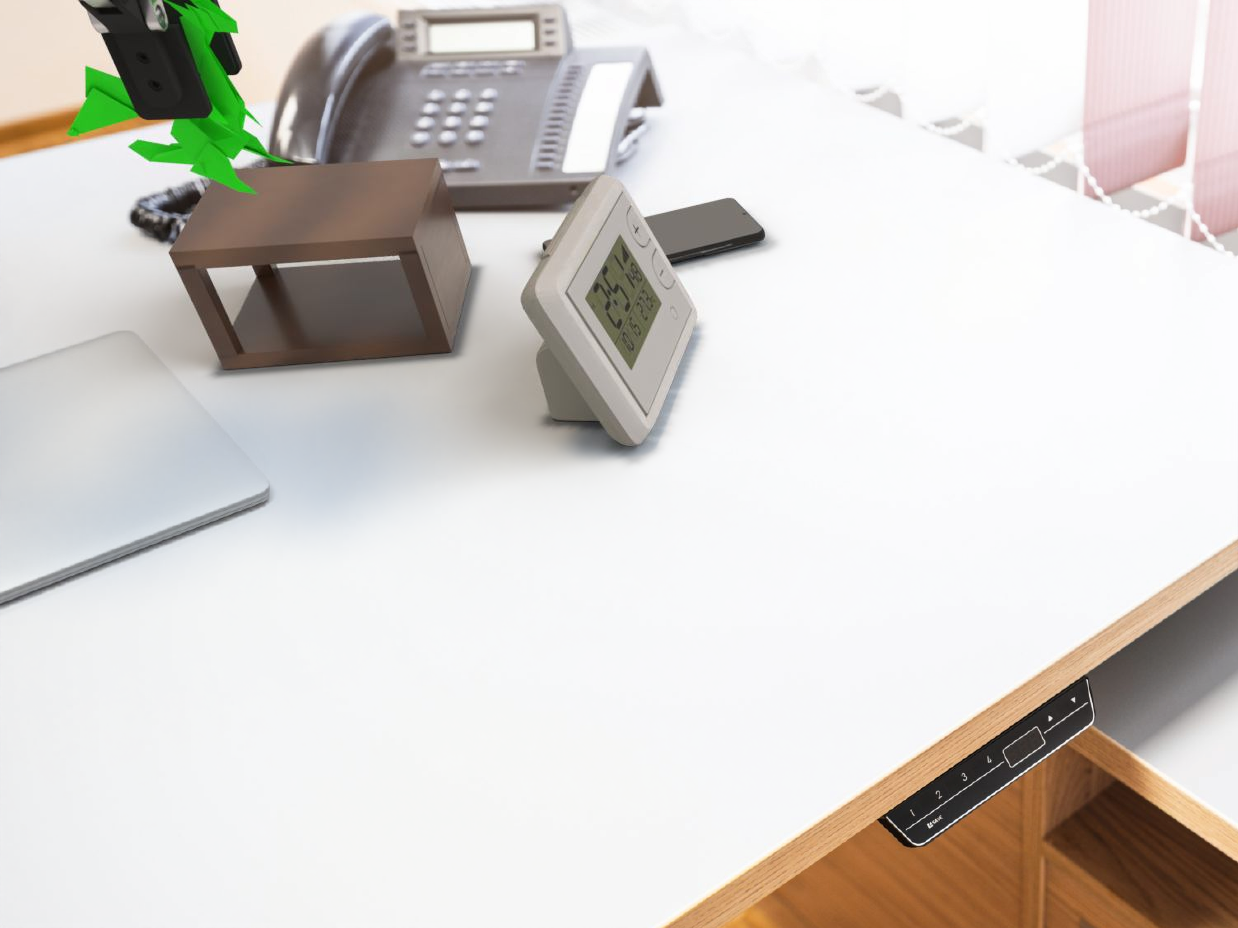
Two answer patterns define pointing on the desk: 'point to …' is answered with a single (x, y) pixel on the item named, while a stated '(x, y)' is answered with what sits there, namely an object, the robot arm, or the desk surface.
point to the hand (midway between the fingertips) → (192, 90)
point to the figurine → (197, 138)
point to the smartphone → (702, 229)
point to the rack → (335, 293)
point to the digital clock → (608, 315)
